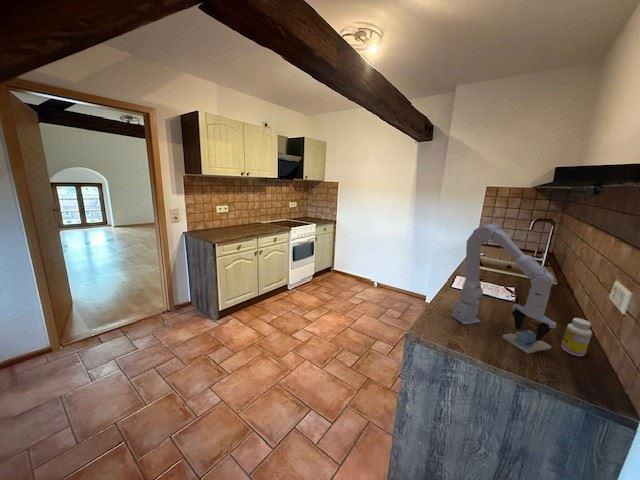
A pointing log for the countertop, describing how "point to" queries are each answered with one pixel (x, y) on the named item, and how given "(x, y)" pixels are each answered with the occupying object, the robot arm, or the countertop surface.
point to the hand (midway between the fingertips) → (527, 334)
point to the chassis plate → (527, 348)
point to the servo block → (526, 337)
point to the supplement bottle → (577, 337)
